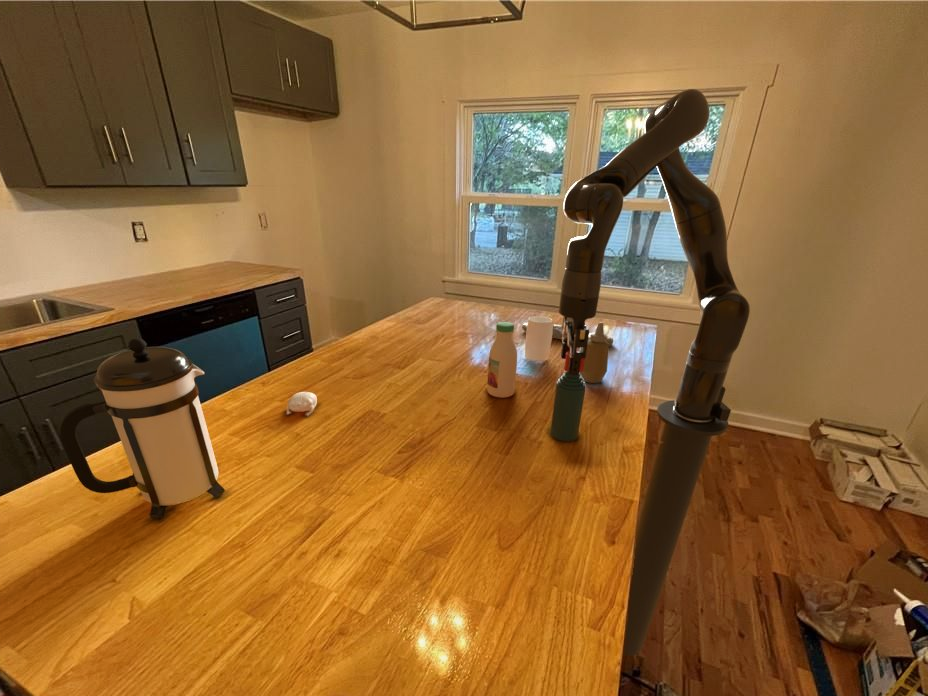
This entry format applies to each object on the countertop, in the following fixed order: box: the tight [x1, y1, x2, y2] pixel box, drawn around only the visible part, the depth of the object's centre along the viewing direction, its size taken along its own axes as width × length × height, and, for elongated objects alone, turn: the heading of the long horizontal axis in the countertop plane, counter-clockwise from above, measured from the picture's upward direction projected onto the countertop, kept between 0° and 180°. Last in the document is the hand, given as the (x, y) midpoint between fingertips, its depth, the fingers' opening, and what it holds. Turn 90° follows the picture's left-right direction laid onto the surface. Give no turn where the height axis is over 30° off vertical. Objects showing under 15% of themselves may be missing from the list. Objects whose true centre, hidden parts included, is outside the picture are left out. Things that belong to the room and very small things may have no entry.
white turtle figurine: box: [285, 391, 318, 416], centre depth 107 cm, size 8×7×4 cm
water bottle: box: [549, 370, 587, 442], centre depth 96 cm, size 6×6×20 cm
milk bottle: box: [486, 321, 518, 399], centre depth 115 cm, size 8×8×20 cm
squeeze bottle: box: [581, 321, 610, 384], centre depth 125 cm, size 8×8×18 cm
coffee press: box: [59, 337, 226, 520], centre depth 71 cm, size 17×16×30 cm
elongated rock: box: [521, 322, 614, 347], centre depth 162 cm, size 35×5×10 cm
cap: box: [563, 350, 585, 373], centre depth 92 cm, size 4×4×4 cm
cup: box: [524, 315, 554, 362], centre depth 138 cm, size 8×8×14 cm
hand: (569, 365), depth 92 cm, fingers open, 8 cm apart
